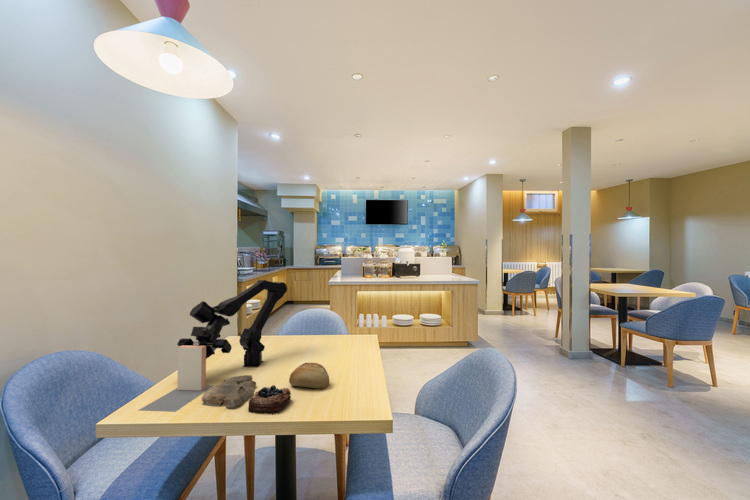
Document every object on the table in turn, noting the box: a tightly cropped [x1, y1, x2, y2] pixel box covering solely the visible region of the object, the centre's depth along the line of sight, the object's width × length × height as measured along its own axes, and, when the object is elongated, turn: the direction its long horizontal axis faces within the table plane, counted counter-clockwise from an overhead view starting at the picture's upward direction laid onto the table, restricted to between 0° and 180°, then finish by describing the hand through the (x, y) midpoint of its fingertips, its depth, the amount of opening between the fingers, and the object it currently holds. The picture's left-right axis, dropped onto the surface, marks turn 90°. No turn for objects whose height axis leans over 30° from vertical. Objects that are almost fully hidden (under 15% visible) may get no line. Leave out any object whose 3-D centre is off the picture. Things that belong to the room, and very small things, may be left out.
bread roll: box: [288, 362, 330, 390], centre depth 116 cm, size 10×15×8 cm, turn 84°
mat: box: [139, 384, 215, 413], centre depth 106 cm, size 20×12×1 cm, turn 175°
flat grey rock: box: [201, 374, 257, 409], centre depth 108 cm, size 14×5×20 cm
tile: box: [176, 345, 207, 391], centre depth 112 cm, size 2×9×15 cm, turn 85°
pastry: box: [247, 385, 292, 415], centre depth 100 cm, size 11×12×6 cm
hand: (194, 366), depth 113 cm, fingers closed
